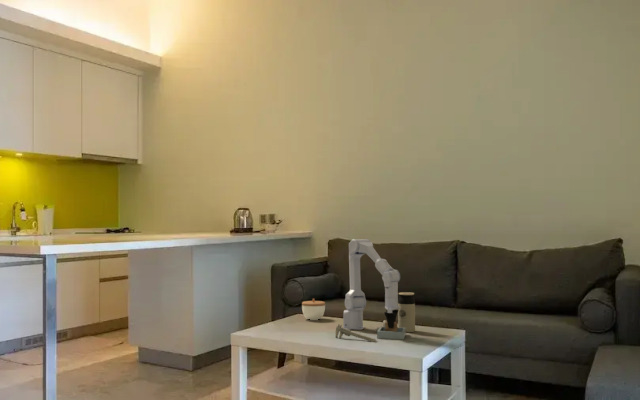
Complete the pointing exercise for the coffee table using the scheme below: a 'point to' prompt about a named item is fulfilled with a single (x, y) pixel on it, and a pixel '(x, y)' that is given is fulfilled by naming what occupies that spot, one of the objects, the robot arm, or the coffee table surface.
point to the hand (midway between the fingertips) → (391, 326)
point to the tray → (391, 333)
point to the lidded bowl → (313, 309)
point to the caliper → (349, 332)
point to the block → (394, 329)
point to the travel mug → (406, 311)
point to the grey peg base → (383, 325)
